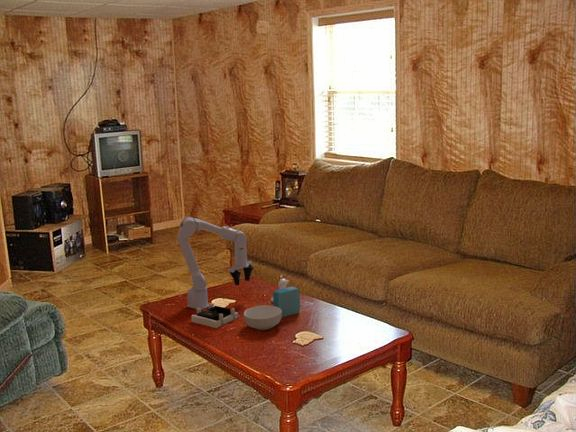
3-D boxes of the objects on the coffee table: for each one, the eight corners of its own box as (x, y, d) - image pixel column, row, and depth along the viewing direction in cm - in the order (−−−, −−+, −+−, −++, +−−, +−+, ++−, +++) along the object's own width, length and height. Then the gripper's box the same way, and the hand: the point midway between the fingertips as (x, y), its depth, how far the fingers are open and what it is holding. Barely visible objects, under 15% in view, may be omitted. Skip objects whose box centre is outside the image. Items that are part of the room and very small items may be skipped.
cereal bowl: (260, 317, 293) (259, 302, 292) (289, 324, 284) (289, 309, 282) (236, 329, 280) (235, 314, 278) (266, 337, 270) (266, 321, 269)
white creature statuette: (284, 297, 319) (283, 274, 317) (296, 301, 313) (295, 277, 311) (270, 301, 313) (269, 278, 311) (281, 305, 307) (281, 282, 305)
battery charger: (212, 326, 285) (211, 317, 284) (196, 322, 291) (196, 313, 290) (231, 317, 295) (230, 309, 294) (215, 313, 301) (215, 305, 300)
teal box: (294, 309, 301) (294, 285, 299) (300, 312, 298) (299, 288, 295) (273, 315, 295) (272, 291, 292) (279, 318, 291) (278, 293, 288)
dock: (191, 321, 290) (190, 311, 289) (214, 311, 302) (213, 301, 301) (216, 328, 281) (216, 317, 280) (238, 317, 293) (238, 307, 292)
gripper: (237, 260, 301) (238, 288, 304) (256, 253, 312) (257, 280, 315) (226, 258, 305) (227, 285, 308) (245, 251, 316) (247, 277, 319)
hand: (242, 282), depth 312 cm, fingers open, 7 cm apart
